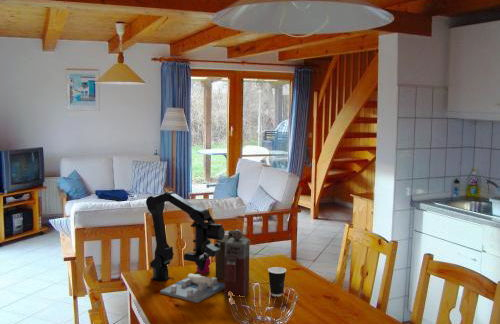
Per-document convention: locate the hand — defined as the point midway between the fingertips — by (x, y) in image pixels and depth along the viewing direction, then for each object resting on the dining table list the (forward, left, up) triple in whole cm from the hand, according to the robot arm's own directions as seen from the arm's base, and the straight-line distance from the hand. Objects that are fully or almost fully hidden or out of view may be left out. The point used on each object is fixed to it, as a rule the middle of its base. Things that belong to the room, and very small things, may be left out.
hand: (201, 271), depth 224 cm
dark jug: (+18, +1, -7) cm, 19 cm away
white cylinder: (0, -1, -4) cm, 4 cm away
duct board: (0, -5, -7) cm, 9 cm away
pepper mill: (-12, +18, -7) cm, 23 cm away
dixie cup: (+33, +10, -7) cm, 35 cm away
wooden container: (+3, +20, -7) cm, 21 cm away
